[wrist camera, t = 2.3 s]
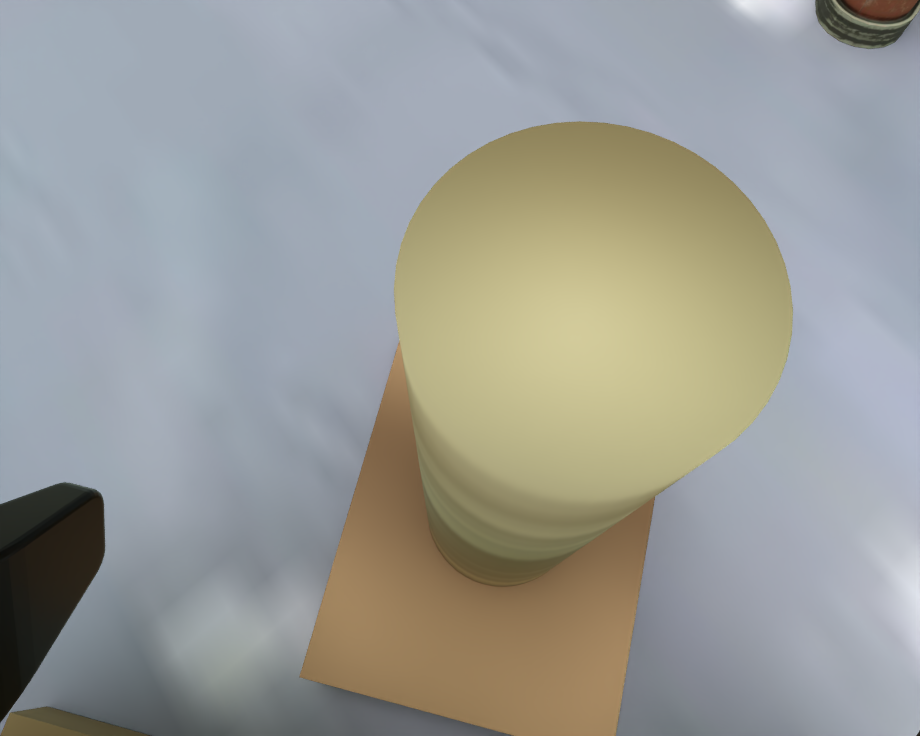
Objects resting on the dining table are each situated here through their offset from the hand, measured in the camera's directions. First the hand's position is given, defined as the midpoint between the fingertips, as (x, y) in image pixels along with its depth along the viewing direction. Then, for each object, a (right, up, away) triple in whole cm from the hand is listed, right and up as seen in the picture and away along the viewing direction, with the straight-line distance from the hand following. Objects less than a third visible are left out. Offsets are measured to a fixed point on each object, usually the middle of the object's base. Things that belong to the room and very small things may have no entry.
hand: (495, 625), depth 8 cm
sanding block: (0, -1, +10) cm, 10 cm away
